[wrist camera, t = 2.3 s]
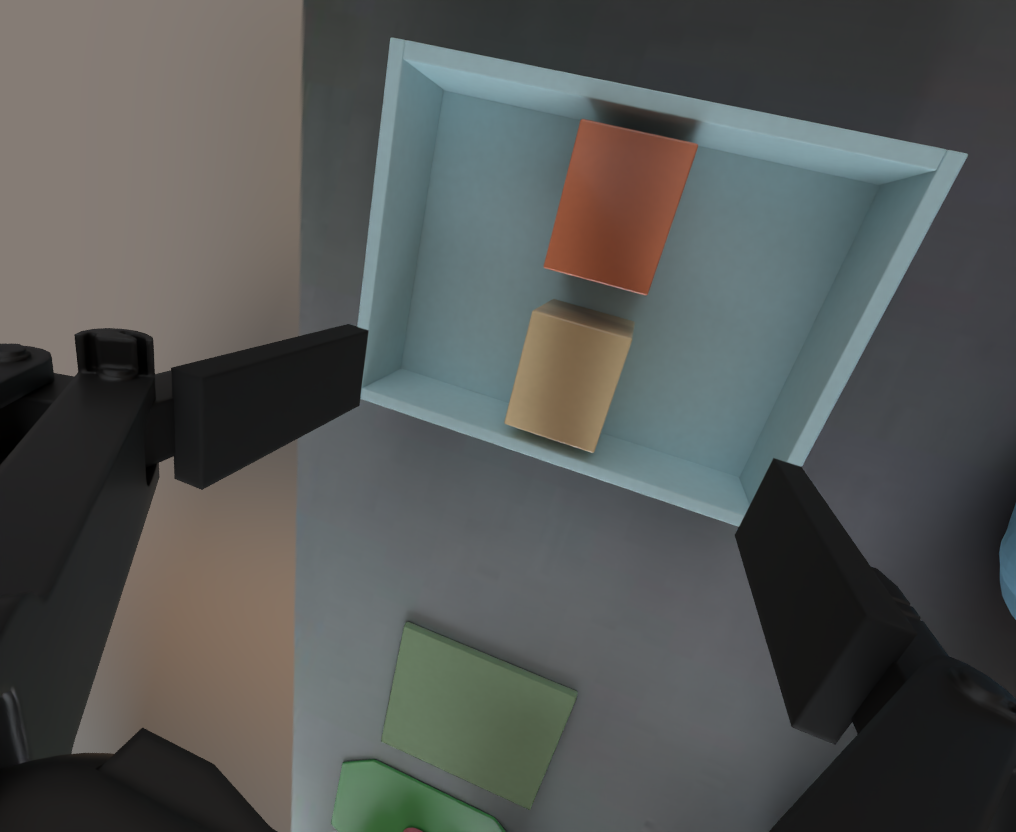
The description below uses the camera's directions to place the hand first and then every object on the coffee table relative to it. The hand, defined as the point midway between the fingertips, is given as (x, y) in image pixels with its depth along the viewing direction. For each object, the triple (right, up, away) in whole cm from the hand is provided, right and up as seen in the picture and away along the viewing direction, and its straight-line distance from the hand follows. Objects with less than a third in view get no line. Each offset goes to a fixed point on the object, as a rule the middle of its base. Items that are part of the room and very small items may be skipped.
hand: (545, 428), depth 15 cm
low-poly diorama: (-6, -34, +24) cm, 42 cm away
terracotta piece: (+4, +9, +6) cm, 11 cm away
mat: (-4, -21, +19) cm, 28 cm away
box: (+3, +6, +7) cm, 10 cm away
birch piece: (+2, +3, +8) cm, 9 cm away
